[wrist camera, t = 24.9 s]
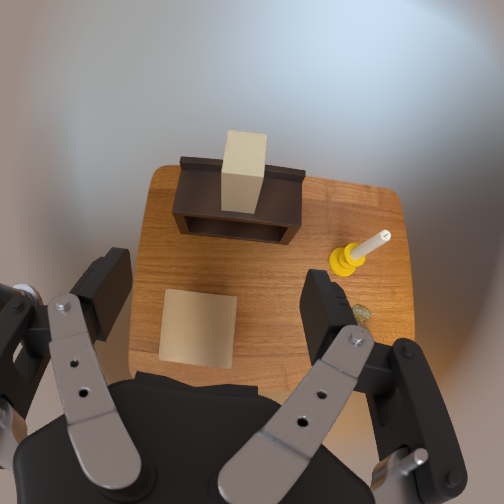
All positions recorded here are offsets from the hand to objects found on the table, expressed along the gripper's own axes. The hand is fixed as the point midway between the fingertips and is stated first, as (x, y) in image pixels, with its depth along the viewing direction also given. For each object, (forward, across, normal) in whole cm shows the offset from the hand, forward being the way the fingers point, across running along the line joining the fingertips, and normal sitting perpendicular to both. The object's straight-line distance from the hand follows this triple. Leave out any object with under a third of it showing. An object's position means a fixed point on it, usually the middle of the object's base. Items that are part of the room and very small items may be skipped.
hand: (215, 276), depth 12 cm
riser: (+21, +2, +25) cm, 33 cm away
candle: (+30, -20, +16) cm, 40 cm away
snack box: (+28, -1, +5) cm, 29 cm away
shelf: (+35, -1, +11) cm, 36 cm away
